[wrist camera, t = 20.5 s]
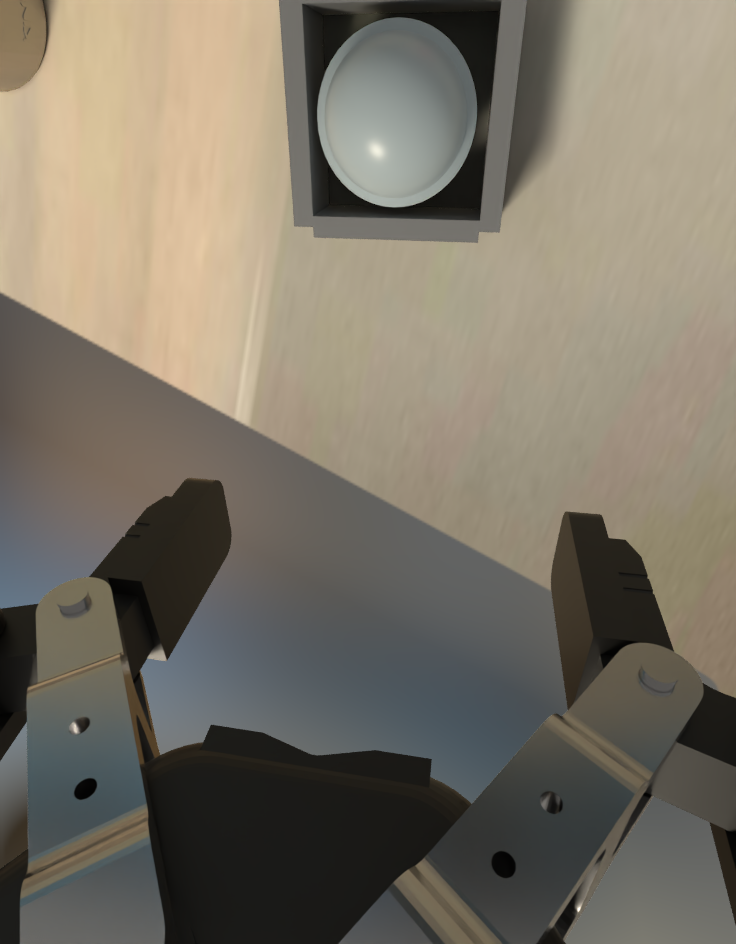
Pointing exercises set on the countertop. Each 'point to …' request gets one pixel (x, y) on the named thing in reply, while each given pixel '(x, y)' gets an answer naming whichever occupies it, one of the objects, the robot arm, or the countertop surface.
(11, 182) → the countertop surface
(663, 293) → the countertop surface
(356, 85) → the dome
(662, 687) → the robot arm
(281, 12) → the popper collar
